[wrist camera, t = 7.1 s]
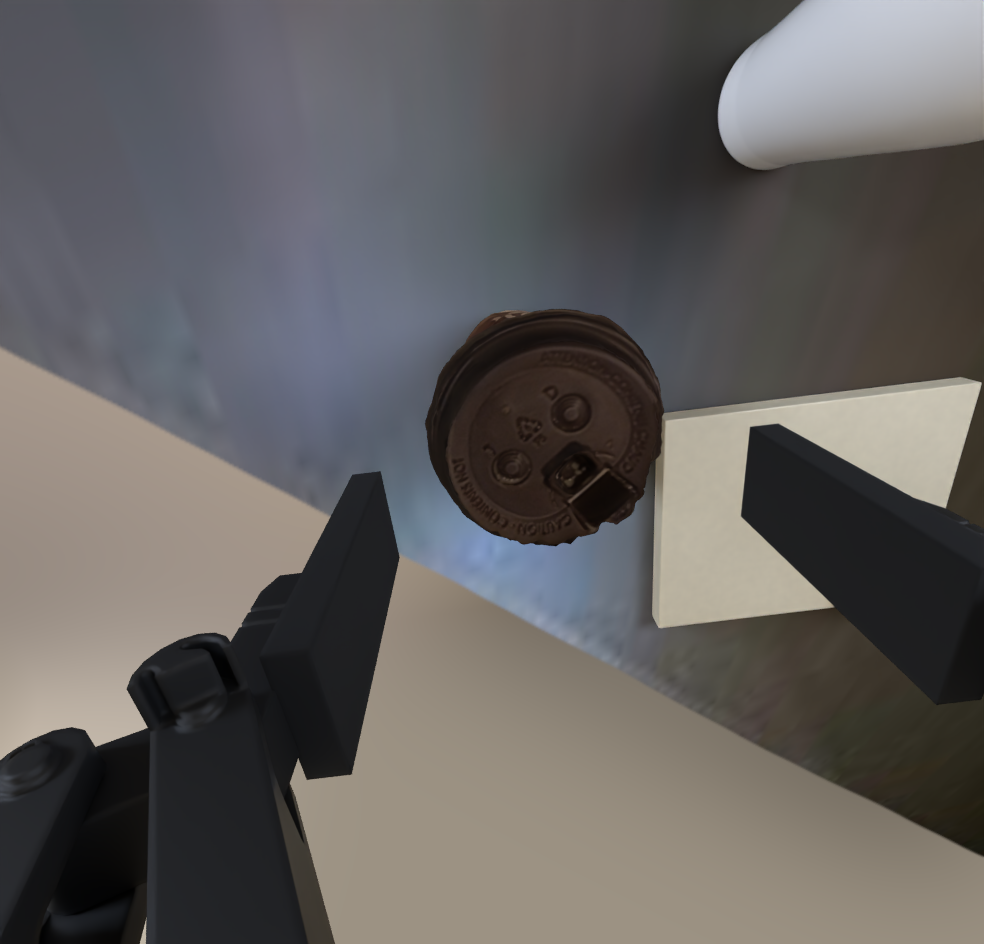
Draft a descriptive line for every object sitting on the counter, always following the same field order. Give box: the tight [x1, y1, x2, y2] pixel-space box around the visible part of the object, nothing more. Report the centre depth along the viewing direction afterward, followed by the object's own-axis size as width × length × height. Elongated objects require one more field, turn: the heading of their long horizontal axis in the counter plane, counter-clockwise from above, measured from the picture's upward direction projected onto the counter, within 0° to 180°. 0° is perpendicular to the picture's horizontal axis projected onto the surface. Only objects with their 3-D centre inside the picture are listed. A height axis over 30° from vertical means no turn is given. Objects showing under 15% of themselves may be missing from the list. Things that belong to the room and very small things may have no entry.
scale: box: [652, 377, 982, 628], centre depth 31 cm, size 18×15×3 cm
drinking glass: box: [718, 0, 984, 170], centre depth 17 cm, size 7×7×15 cm
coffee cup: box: [425, 309, 664, 546], centre depth 22 cm, size 9×8×13 cm
